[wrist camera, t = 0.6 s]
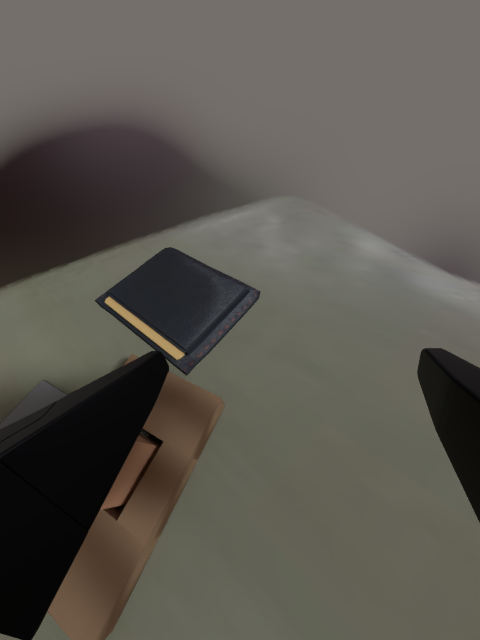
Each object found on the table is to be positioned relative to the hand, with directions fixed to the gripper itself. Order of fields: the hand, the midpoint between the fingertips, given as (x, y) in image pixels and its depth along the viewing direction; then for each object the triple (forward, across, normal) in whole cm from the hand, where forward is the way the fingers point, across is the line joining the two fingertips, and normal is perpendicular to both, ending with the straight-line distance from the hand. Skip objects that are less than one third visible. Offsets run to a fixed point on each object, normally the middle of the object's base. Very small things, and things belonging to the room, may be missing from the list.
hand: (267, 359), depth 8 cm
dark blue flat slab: (+19, +18, +5) cm, 27 cm away
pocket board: (+1, +15, +13) cm, 20 cm away
